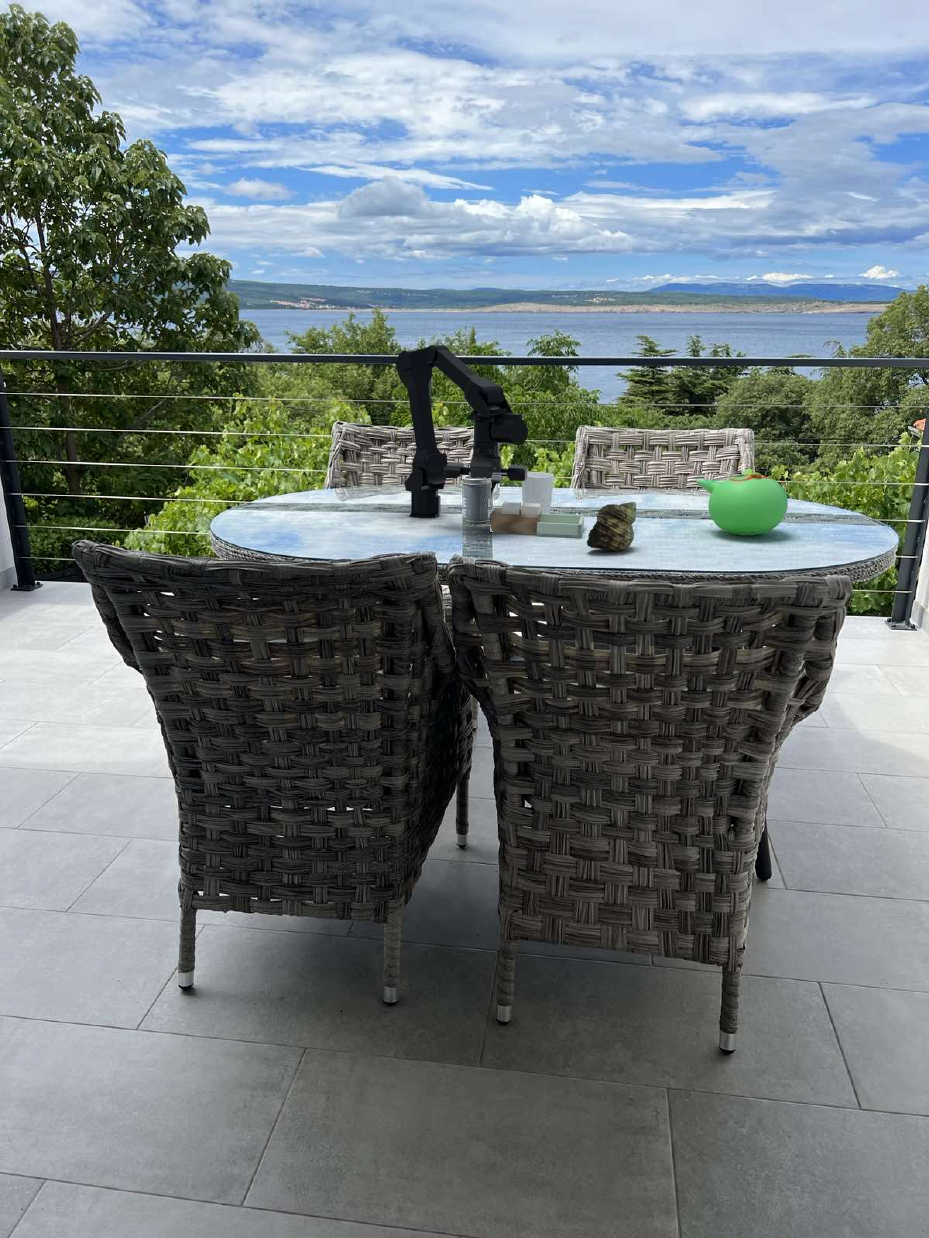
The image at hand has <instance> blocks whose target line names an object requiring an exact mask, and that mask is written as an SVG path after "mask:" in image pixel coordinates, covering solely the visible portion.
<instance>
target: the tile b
mask: <svg viewBox="0 0 929 1238" xmlns="http://www.w3.org/2000/svg"><path fill="white" fill-rule="evenodd" d="M540 511H541V504H538V503H523V502H522V504H521V515H538V516H539V514H540Z"/></svg>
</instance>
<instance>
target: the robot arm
mask: <svg viewBox="0 0 929 1238" xmlns="http://www.w3.org/2000/svg"><path fill="white" fill-rule="evenodd" d="M395 365H396V370H397V371H396V372H397V374H398V378H399V380H400V382H401V383H402V385H403V386H404V387H405V388H406V390H407V393H408V394H407V396H408V402H409V407H410V408H409V409H410V416H411V421H412V429H413V435H414V442H415V454H414V456H413V458H412V461H411V466H412V467H411V468H412V469H411V470H412V472H411V473H410V475H409V476H408V477H407V478H406V479H405V481H404V483H403V484H404V487H405V491H406V492H410V506H411V507H410V513H409V517H413V518H414V517H415V518H416V517H418V518H420V517H421V518H436V517H437V516H438V515H440V513H441V507H442V506H441V502H442V501H441V499H442V498H441V495H439V491H440V490H444V489H445V485H446V480H447V479H458V478H459V477H460V476H468V478H469V477H471V478H484V477H486V479H485V478H484V479H485V480H489V478H490V479H491V482H492V488H491V495H492V496H493V493H494V490H495V488H496V486H497V485H499V484H501V483H502V481H503V480H504V479H503V477H505V478H506V477H507V478H508V480H510V481H513V482H514V481H515V482H522V481H525V480H526V478H527V473H528V467H527V466H526V465H525V464H523V465H522V464H521V465H520V464H518V465H517V464H516V465H515V464H510V465H509V466H508V467H507V468H504V467H503V468H502V456H500V455H499V453H500V452H499V447H500V446H499V445H500V444H504V445H511V446H512V445H513V446H521V445H523V444H524V443H525V442H526V441H527V439H528V436H529V428H528V426H527V423H526V422H525V421H524V420H523V414H522V413H514V412H513V410H512V408H511V406H510V404H509V402H508V399H507V398H506V395H505V394H504V392H505V391H504V389H503V387H502V386H501V385H500V384H498V383H497V382H494V381H493V380H490V379H488V378H485V377H482V376H479V374H477V373H475V372H474V370H472V369H471V368H470V367H469V366H468V365H466V364H465V363H464V362H463V361H462V360H461V359H459V358H458V357H457V355H455V354H454V353H453V352H451V350H450V349H449V347H448V346H446V345H445V344H433V345H432V344H431V345H428V346H427V347H424V348H420V349H416V350H403V351H402V350H401V352H399V354H398V355H397V358H396V359H395ZM434 368H437V369H438V370H439V371H440V372H441V373H443V374H444V376H446V377H447V378H448V379H449V380H450V381H451V382H452V383H454V385H456V386H457V387H458V388H459V389H460V390H461V391H462V392H463V397H464V400H465V401H466V402H467V404H468V405H469V406H470V407H471V409H472V412H471V413H469V414H468V415H467V417H466V419H467V420H469V421H473V453H472V456H471V459H470V463H469V466H468V467H467V466H465V463H463V462H449V463H448V455H447V453H446V452H441V450H440V449H439V448H438V447H437V440H436V438H437V437H436V432H435V426H434V418H433V412H432V404H431V400H430V399H431V397H430V393H429V391H430V390H429V386H430V383H431V380H432V378H433V369H434Z"/></svg>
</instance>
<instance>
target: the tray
mask: <svg viewBox="0 0 929 1238" xmlns="http://www.w3.org/2000/svg"><path fill="white" fill-rule="evenodd" d="M584 529H585V515H584V514H565V513H563V514H561V513H560V514H559V513H550V514H543V513H542V514H541V522H537V535H536V537H550V538H569V539H570V538H572V539H573V538H574V539H582V536H583V531H584Z"/></svg>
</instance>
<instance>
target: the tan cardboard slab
mask: <svg viewBox="0 0 929 1238" xmlns="http://www.w3.org/2000/svg"><path fill="white" fill-rule="evenodd" d="M489 515H490V525H491V529H492V531H493V533H492V534H505V535H506V534H507V535H508V534H510V535H513V534H514V535H527V536H528V535H529V536H537V522H541V511H540V514H539V516H538V515H521V512H520V514H519V515H516V514H502V507H501V508H499V507H495V508H493V510H492V511H491V513H490V514H489Z"/></svg>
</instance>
